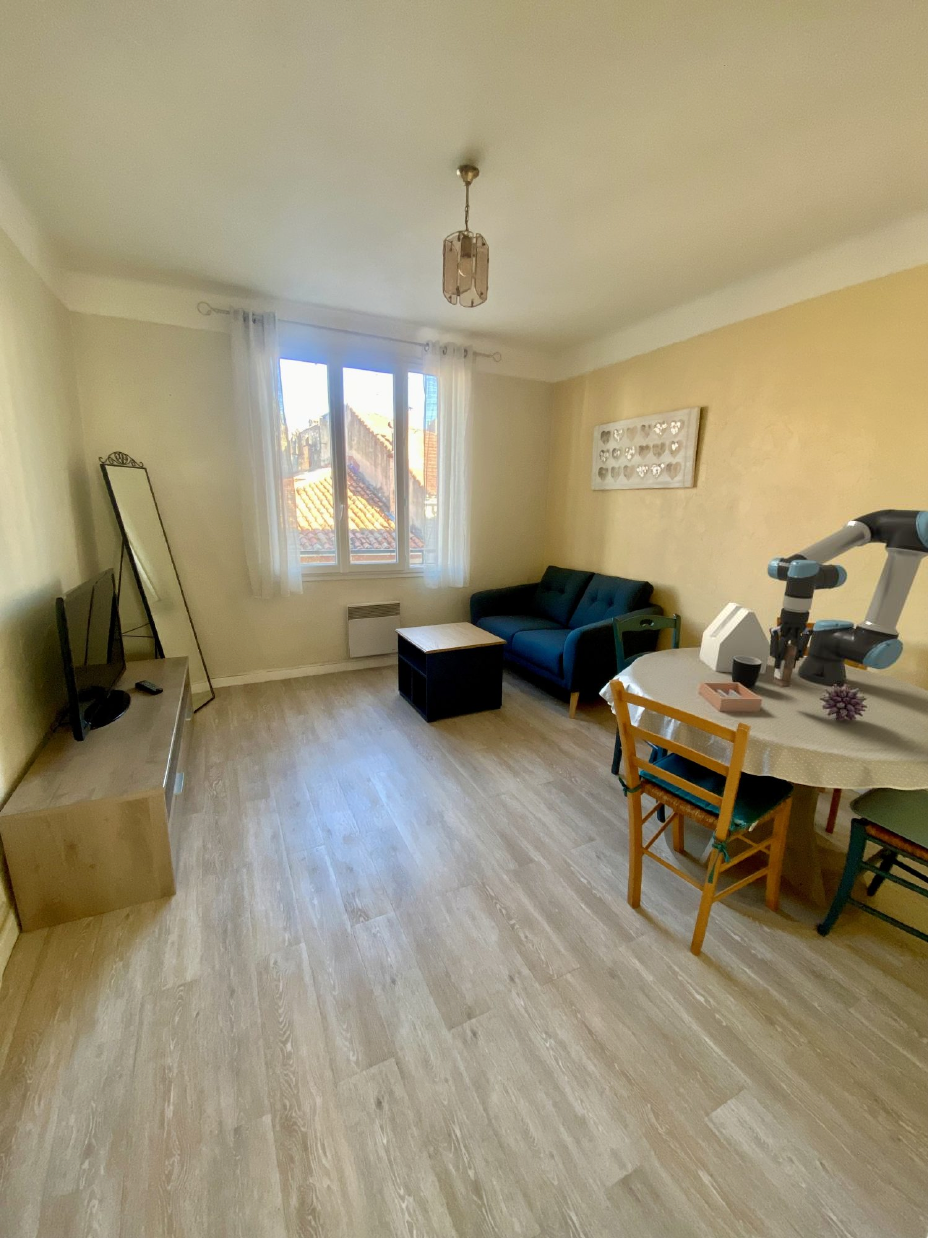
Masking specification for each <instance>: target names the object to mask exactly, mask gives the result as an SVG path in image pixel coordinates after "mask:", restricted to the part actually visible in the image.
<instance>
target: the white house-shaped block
mask: <svg viewBox="0 0 928 1238" xmlns="http://www.w3.org/2000/svg"><path fill="white" fill-rule="evenodd" d="M756 615H757V614H756V613H755V612H754V611H753V610H752V609H749V608H746V607H743V606H742V605H740V604H738V603H737V602H731V601H730V602H729V603H728V604H727V605H726V606H725V607H724V608H723V609H722V611H721V612H720V613H719V614H718V615H717V617H715V619H714V620H713V621H712V622H711V623H710V624H709V625H708V627H707V628H705V630H704V631H703V632H702V639H701V645H700V651H699V652H700V653H699V656H698V657H699V659H700V660H701V661H702V662H703V663H705V664H706V665H707V666H708V667H709V668H710V669H712V670H713V672H719V673H720V672H722V673H723V672H724V673H732V666H733V659H734V657H735V656H749V657H753V658H756V659H759V660H760V661H761V662H762V665H761V669H760V673H759V674H766V671H767V665H768V661H769V656H770V642H769V640H768V637H767V636H766V633H765V631H764V630H763V627H762V626H761V624H760V623H761V622H760V621H759V620H758V617H757V616H756Z"/></svg>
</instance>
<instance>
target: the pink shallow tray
mask: <svg viewBox="0 0 928 1238" xmlns="http://www.w3.org/2000/svg"><path fill="white" fill-rule="evenodd" d="M698 694H699V695H700V696H701V697H702V698H703V699H704V700H706V701H707V702H708V703H709V704H710V706H712V707H714V708H715V709H716V710H717V711H718V712H754V713H755V712H758V713H759V712H760V711H761V708H762V707H761V706H762V701H763V698H762V697H761V696H759V695H757V694H755V692H753V691H752V690H750V689H747V688H746V687H744V686H743V685H741V684H740V683H738V682H732V681H731V682H730V681H729V682H727V681H724V682H722V681H717V682H716V681H715V682H714V681H713V682H712V681H707V682H705V681H702V682H700V685H699V692H698Z"/></svg>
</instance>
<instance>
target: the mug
mask: <svg viewBox="0 0 928 1238" xmlns="http://www.w3.org/2000/svg"><path fill="white" fill-rule="evenodd" d="M761 665H762V662H761V661H760V660H759V659H756V658H753V657H749V656H735V657H734V659H733V666H732V672H731V682H738V683H740V684H741V685H743V686H744V687H746V688H747V689H749V690H750V689H752V688H754V686H755V685H756V683H757V681H758V678H759V674H761V673H760V669H761Z"/></svg>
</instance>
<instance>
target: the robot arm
mask: <svg viewBox="0 0 928 1238" xmlns="http://www.w3.org/2000/svg"><path fill="white" fill-rule="evenodd" d="M873 543H874V544H875V543H877V544H885V546H884V550H885V551H886V552H887V554H888V555H887V558H886V561H885V563H884V566H883V567H882V571H881V573H880V576H879V578H878V582H877V584H876V587H875V590H874V592H873V595H872V599H871V601H870V604H869V606H868V609H867V612H866V614H865V617H864V620H863V621H862V622H860V623H857V624H856V627H855V623H854V622H852V621H847V620H842V619H841V620H840V619H820V620H817V621H815V622H814V625H813V628H810V627H808V626H807V623H809V617H810V614H811V613H810V610H811V609H812V605H813V597H814V594H815V591H816V590H819V591H820V590H831V589H835V588H840V587H841V586H843V585H844V584H845V583H846V582H847V580H848V579H847V578H848V572H847V570H846V568H845V567H843V566H842V565H840V564H831V563H830V564H826V563H828V562H831V560H833V559H835V558H837V557H839V556H840V555H842V554H844V553H846V552H848V551H850V550H852V549H854V548H855V547H859V548H860V547H864V546H866V545H868V544H873ZM926 557H928V510H924V509H923V510H917V509H916V510H913V509H912V510H911V509H910V510H909V509H895V508H894V509H891V508H889V509H880V510H877V511H873V512H869V513H867V514H863V515H861V516H859V517H857V518H854V519H852V520H851V521H848V522H846V523H845V524H844V525H843V526H842V528H841V529H839V530H837V531H836V532H834V533H832V534H830V535H829V536H826V537H824V538H822V539H821V540H819V541H817V542H815V543H813V544H811V545H809V546H807V547H806V548H804V549H802V550H800V551H798V552H796V553H794V554H792V555H790V556H788V557H786V558H784V557H774V558H772V559H771V560H770V561H769V563H768V565H767V569H766V571H767V572H766V573H767V575H768V577H770V578H771V579H774V580H778V581H780V582H781V581H783V582H786V584H785V589H784V594H783V600H782V604H781V607H782V608H781V611H780V615H779V620H780V622H779V623H778V625H777V627H775V628H772V627H770V628H769V634H770V642H769V644H770V652H769V656H770V657H772V658H773V659H774V663H773V668H774V675H773V677H774V676H775V677H776V678H778V679H782V674H783V669H784V664H785V660H783V658H784V655H785V651H786V648H787V645H788V643H789V642H790V643H789V644H792V645H794V646H796V647H797V650H796V655H795V660H794V665H793V670H792V672H793V671H794V670H795V668H796V665H797V662H799V661H800V660H801V659H803V658H804V657H805V655H806V651H807V655H806V657H805V658H804V660H803V661H802V663H801V665H800V666H798V670H797V675H798V676H799V677H800V678H802V679H804V680H807V681H809V682H812V683H816V684H820V685H826V686H832V687H833V686H834V685H835V684H836V685H837V686H838V687H840V686H844V684H846V681H847V673H846V672H847V671H846V666H845V661H849V662H853V663H855V664H856V663H857V664H859V665H863V666H864V667H866V668H872V669H875V670H885V669H887V668H890V667H891V666H892V665H894V664H895V663H896V662H897V661H898V660H899V659H900V657H901V655H902V653H903V651H904V647H903V646H904V643H903V642H902V641H901V640H900V639H899V635H900V633H899V631H898V630H897V628H896V627H897V625H898V623H899V620H900V617H901V614H902V612H903V610H904V607H905V604H906V601H907V599H908V596H909V594H910V590H911V588H912V586H913V583H914V581H915V577H916V575H917V573H918V570H919V567H920V565H921V562H922V560H923V559H924V558H926ZM808 645H809V646H808ZM807 648H808V649H807ZM792 676H793V675H791V677H792Z"/></svg>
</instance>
